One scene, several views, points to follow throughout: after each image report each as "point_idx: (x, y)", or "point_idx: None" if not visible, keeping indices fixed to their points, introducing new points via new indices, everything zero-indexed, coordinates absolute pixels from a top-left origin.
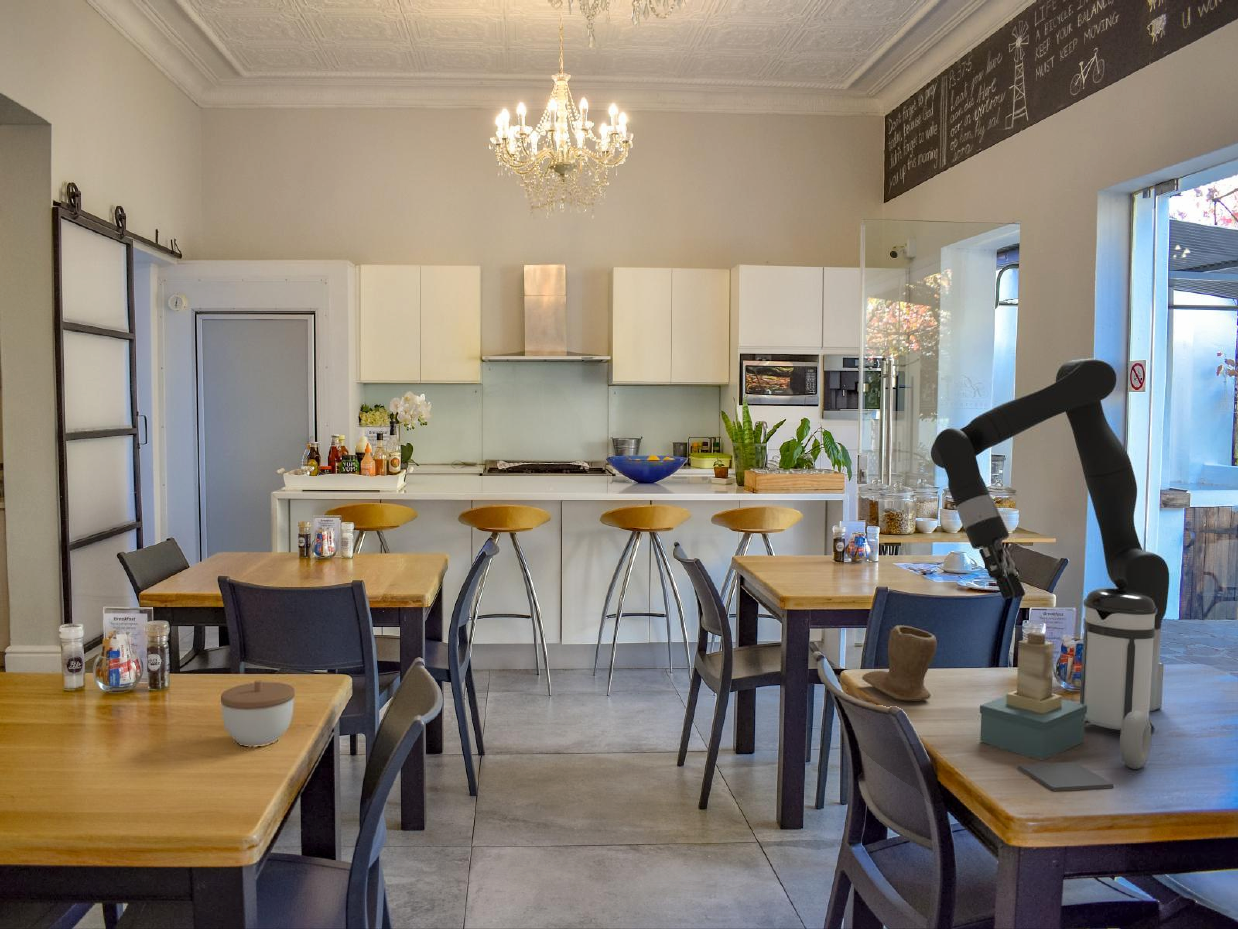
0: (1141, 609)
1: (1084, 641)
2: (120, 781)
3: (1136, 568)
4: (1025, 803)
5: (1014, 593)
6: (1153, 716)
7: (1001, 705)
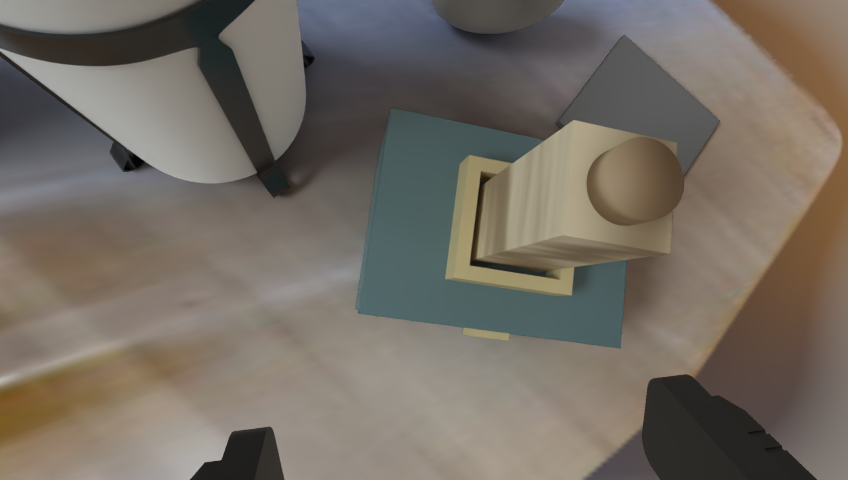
0: None
1: (220, 70)
2: None
3: None
4: (794, 146)
5: (663, 380)
6: None
7: (577, 301)
